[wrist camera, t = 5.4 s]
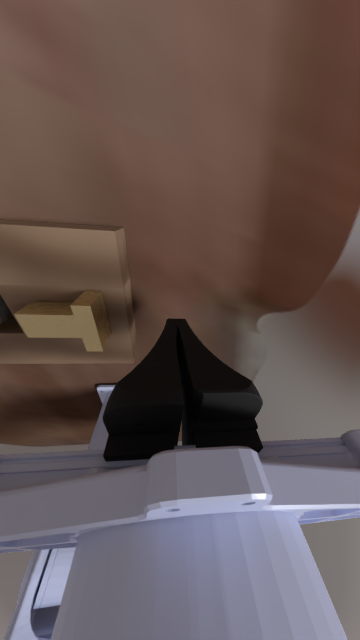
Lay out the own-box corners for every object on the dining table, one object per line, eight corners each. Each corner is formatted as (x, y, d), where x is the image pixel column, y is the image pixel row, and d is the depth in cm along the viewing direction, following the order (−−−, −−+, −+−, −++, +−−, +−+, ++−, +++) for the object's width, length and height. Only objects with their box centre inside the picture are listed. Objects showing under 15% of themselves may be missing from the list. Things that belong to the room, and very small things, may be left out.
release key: (111, 333, 14) (103, 351, 12) (48, 332, 14) (30, 351, 12) (101, 291, 12) (90, 305, 10) (26, 288, 12) (-1, 303, 10)
